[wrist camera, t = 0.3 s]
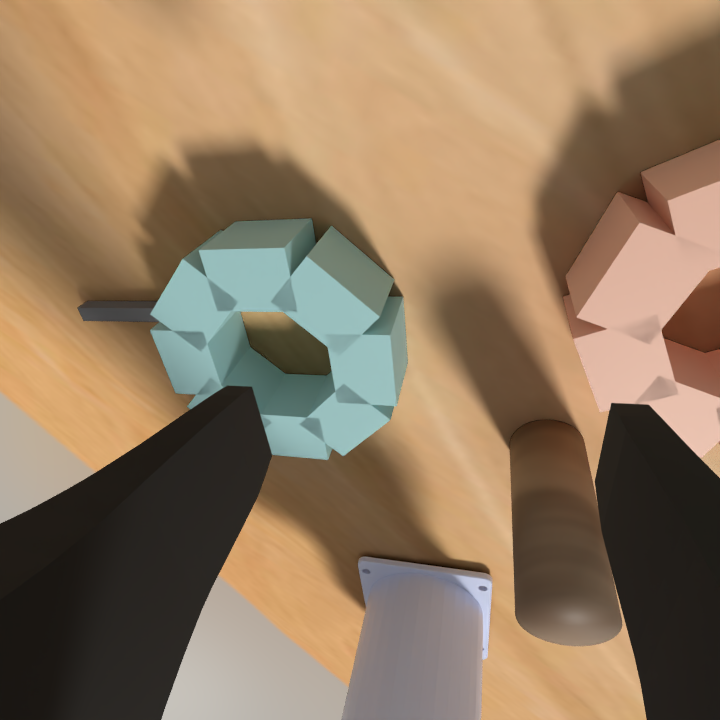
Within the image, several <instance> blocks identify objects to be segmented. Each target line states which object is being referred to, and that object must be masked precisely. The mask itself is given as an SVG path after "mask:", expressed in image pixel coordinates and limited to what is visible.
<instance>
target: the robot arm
mask: <svg viewBox="0 0 720 720" xmlns="http://www.w3.org/2000/svg"><path fill="white" fill-rule="evenodd" d="M271 457H272V452H271V449H270V446H269V442H268V439H267V436H266V432H265V429H264V425H263V422H262V419H261V415H260V412H259V408H258V405H257V402H256V398H255V395H254V391H253V388H252V387H250V386H228V385H227V386H226V387H224V388H222V389H221V390H219V391H217V392H216V393H214V394H213V395H211V396H210V397H208V398H207V399H205V400H204V401H202V402H201V403H199V404H198V405H196V406H195V407H193V408H192V409H190V410H189V411H188V412H186V413H185V414H183V415H182V416H180V417H179V418H178V419H176V420H175V421H173V422H172V423H170V424H169V425H167V426H166V427H164V428H163V429H162V430H160V431H159V432H157V433H156V434H154V435H153V436H151V437H150V438H149V439H147V440H146V441H144V442H143V443H141V444H140V445H138V446H137V447H135V448H133V449H132V450H130V451H129V452H127V453H126V454H124V455H122V456H121V457H119V458H118V459H116V460H115V461H113V462H112V463H110V464H108V465H107V466H105V467H104V468H102V469H101V470H99V471H98V472H96V473H94V474H93V475H91V476H89V477H88V478H86V479H84V480H83V481H81V482H79V483H77V484H76V485H74V486H72V487H70V488H69V489H67V490H65V491H63V492H61V493H60V494H58V495H56V496H54V497H52V498H51V499H49V500H47V501H45V502H43V503H41V504H40V505H38V506H36V507H34V508H32V509H30V510H28V511H26V512H24V513H22V514H20V515H18V516H16V517H14V518H11V519H10V520H7V521H5V522H3V523H1V524H0V720H161V718H162V715H163V712H164V709H165V706H166V703H167V701H168V698H169V695H170V692H171V690H172V687H173V684H174V681H175V678H176V676H177V673H178V670H179V667H180V664H181V662H182V659H183V656H184V654H185V651H186V649H187V646H188V643H189V641H190V638H191V636H192V633H193V631H194V628H195V626H196V623H197V620H198V618H199V615H200V613H201V610H202V608H203V606H204V604H205V601H206V599H207V597H208V595H209V593H210V590H211V588H212V586H213V584H214V582H215V580H216V578H217V576H218V574H219V572H220V570H221V569H222V567H223V565H224V563H225V561H226V559H227V557H228V555H229V553H230V551H231V549H232V547H233V545H234V543H235V541H236V539H237V537H238V535H239V533H240V531H241V529H242V527H243V525H244V523H245V521H246V519H247V517H248V515H249V513H250V511H251V509H252V507H253V505H254V503H255V501H256V499H257V497H258V494H259V492H260V489H261V486H262V483H263V481H264V478H265V475H266V472H267V469H268V466H269V463H270V460H271ZM595 486H596V494H597V502H598V510H599V517H600V524H601V531H602V535H603V539H604V543H605V547H606V551H607V555H608V559H609V563H610V566H611V570H612V574H613V578H614V581H615V585H616V589H617V593H618V596H619V600H620V604H621V608H622V611H623V615H624V619H625V623H626V626H627V630H628V634H629V638H630V641H631V645H632V649H633V653H634V656H635V661H636V665H637V670H638V674H639V679H640V683H641V688H642V694H643V700H644V706H645V712H646V718H647V720H720V478H719V477H718V476H717V475H716V474H715V473H714V472H713V471H712V470H711V469H710V468H709V467H708V466H707V465H706V464H705V463H704V462H703V461H702V460H701V459H700V458H699V457H698V456H697V455H696V454H695V452H694V451H693V450H692V449H691V448H690V447H689V446H688V445H687V444H686V443H685V442H684V441H683V440H682V439H681V438H680V437H679V436H678V435H677V434H676V433H675V432H674V430H673V429H672V428H671V427H670V426H669V425H668V424H667V423H666V422H665V421H664V420H663V419H662V418H661V417H660V416H659V415H658V414H657V413H656V412H655V411H654V410H653V409H652V407H651V406H650V405H648V404H626V403H611V407H610V411H609V416H608V421H607V426H606V431H605V435H604V440H603V445H602V450H601V454H600V459H599V464H598V469H597V474H596V478H595ZM358 569H359V574H360V579H361V584H362V590H363V595H364V600H365V605H366V611H365V615H364V620H363V624H362V629H361V634H360V638H359V643H358V647H357V652H356V656H355V661H354V665H353V670H352V674H351V679H350V683H349V688H348V693H347V697H346V702H345V706H344V711H343V716H342V720H481V704H482V660H483V659H486V658H487V655H488V640H489V625H490V610H491V594H492V577H491V576H490V575H489V574H487V573H482V572H475V571H468V570H460V569H453V568H446V567H439V566H431V565H424V564H417V563H410V562H402V561H395V560H388V559H381V558H373V557H365V556H363V557H360V558H359V561H358Z"/></svg>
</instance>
